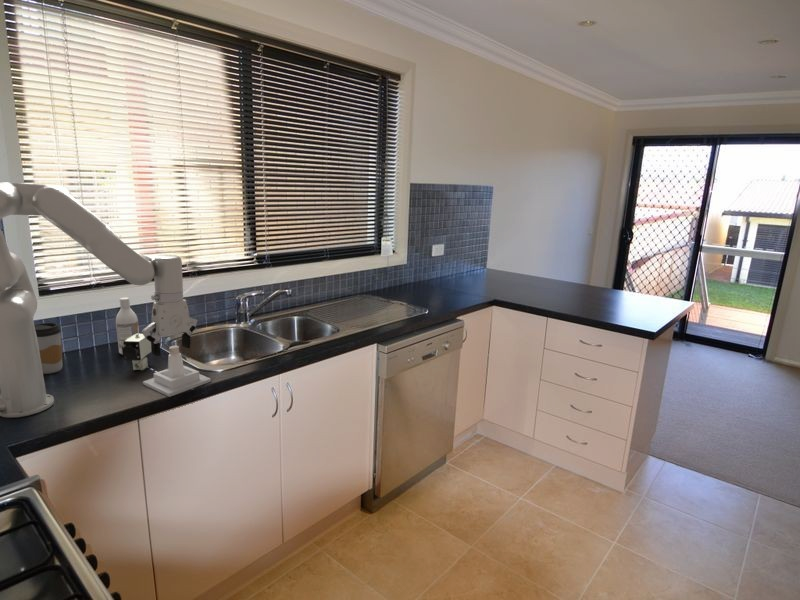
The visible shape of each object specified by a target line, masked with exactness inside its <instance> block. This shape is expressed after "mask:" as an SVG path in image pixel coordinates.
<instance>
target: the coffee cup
mask: <svg viewBox="0 0 800 600" xmlns="http://www.w3.org/2000/svg"><path fill="white" fill-rule="evenodd" d="M34 327H35V331H36V335H37V340H38V346H39V352H40V358H41V364H42V371H43V375H44V374H45V375H46V374H53V373H57V372H60V371H62V369H63V366H64V365H63V348H62V347H63V346H62V336H61V335H62V333H61V332H62V330H61V327H60V326H59V324H58V323H56V322H42V323H38V324H37V323H36V324H34Z"/></svg>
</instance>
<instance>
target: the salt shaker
mask: <svg viewBox="0 0 800 600" xmlns="http://www.w3.org/2000/svg"><path fill="white" fill-rule="evenodd" d="M168 349H169V354H168V356H167V357H168V359H167V369H168V377H169V378H171V379H174V378H177V377H180V376H183V375H185V371H184V366H185V365H184V362H183V357H182V353H181V352H180V346H179V345H171V346H169V348H168ZM183 365H184V366H183Z"/></svg>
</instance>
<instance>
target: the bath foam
mask: <svg viewBox="0 0 800 600" xmlns="http://www.w3.org/2000/svg"><path fill="white" fill-rule="evenodd" d="M130 303H131V302H130V297H127V296H125V297H119V305H120V309H119V311H118V313H117V315H116V317H115V326H116V327H115V328H116V335H117V336H116V337H117V343H118V344H117V347H118V353H119V354H120V355H123V352H122V347H124V344H123V342H124V341H125V340H126V338H128V337H132V336H133V335H135V334H136V333H140V327H139V319H138V318H139V317H138V316H137V314H136V313H135V311H133V309H132V308H131V304H130Z"/></svg>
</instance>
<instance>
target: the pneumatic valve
mask: <svg viewBox="0 0 800 600" xmlns="http://www.w3.org/2000/svg"><path fill="white" fill-rule="evenodd" d="M149 334H150V336H152V333H151V332H149ZM123 344H124V347H122V352H123V354H122V357H124V360H125V361H131V362H132V367H133V368H132V369H133V371H138V370H139V371H144V370H145V369H147V368H148V367H149V365H148V357H147V356H148V355H149V354H151V353H152V351H151V342H150V341H149V340H147V339H146V338H145V336H144V335H143V334H142V332H139V333H136V334H135V335H133V336H132V337H128V338H126V340H125V341H124V342H123Z"/></svg>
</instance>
